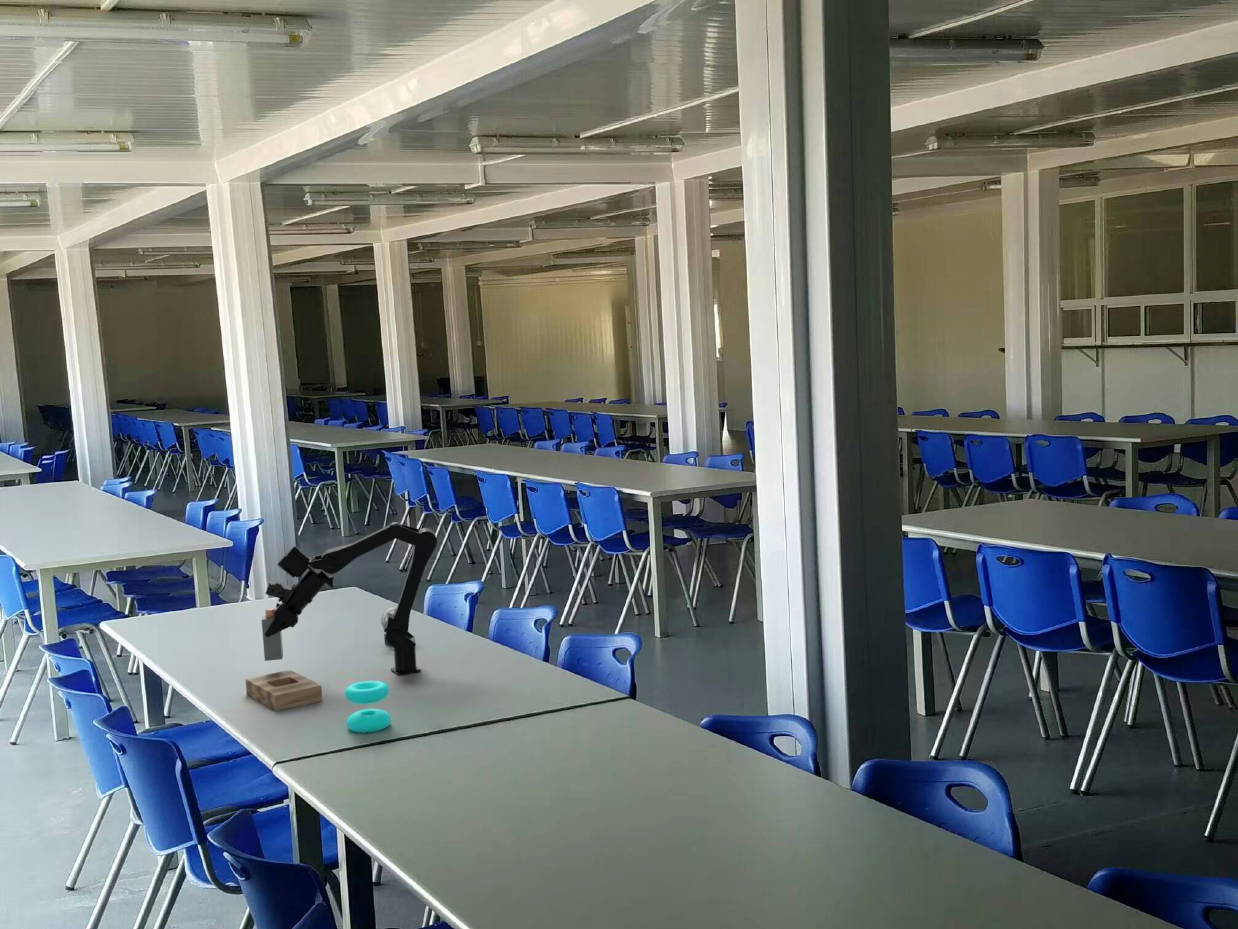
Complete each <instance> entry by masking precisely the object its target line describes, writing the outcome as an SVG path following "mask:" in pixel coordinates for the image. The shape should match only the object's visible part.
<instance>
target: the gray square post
mask: <svg viewBox="0 0 1238 929" xmlns="http://www.w3.org/2000/svg"><path fill="white" fill-rule="evenodd" d="M274 610H276V608H267V609H265V615H263V616H262V617H261V629H262V642H263V643H262V644H263V654H264V662H266V661H268V662H269V661H279V660H283V658H284V648H283V635H282V634H283V633H282V631H280V632H278V633H276V634H274V635H272V636H270V637H266V636H265V633H266V632H267V630H268V628H269V627H270V625H271V623H272V622H273V620H274V619H275V616H274Z"/></svg>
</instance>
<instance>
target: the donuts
mask: <svg viewBox="0 0 1238 929" xmlns="http://www.w3.org/2000/svg"><path fill="white" fill-rule="evenodd" d="M389 693H390V687H389V686H388V684H387V683H385V682H383V681H379V680H365V681H358V682H355V683H352V684H350V685H348V686H347V687H346V688H345V690H344V696H345V698H346V699H347V701H349V702H351V703H353V704H357V705H368V704H369V705H370V704H374V703H378V702H381V701H383V700H385V698H386V697H387V696H388V695H389ZM391 721H392V718H391V715H390V714H389V713H388V712H387V711H386V710H383V709H379V708H366V709H361V710H360V709H359V710H357V711H355V712H354V713H352V714H351V715H349V716H348V719H347V721H346V726H347V728H348V729H349V730H350V731H352V732H355V733H360V732H361V733H363V734H365V733H366V732H368V733H375V732H378V731H379V732H380V731H381V730H384V729H386V728H387V727H388V726H390V724H391ZM361 733H360V734H361ZM366 734H367V733H366Z"/></svg>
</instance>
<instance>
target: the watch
mask: <svg viewBox="0 0 1238 929" xmlns="http://www.w3.org/2000/svg"><path fill="white" fill-rule="evenodd" d="M396 608H397V607H394V606H393V607H389V608H387V609H385V610H384V611H383V613H382V615H381V618H380V621H381V626H382V628H383V629H384V625H385V623H386V621H387V616H388V613H390V614H391V612H392V611H393V613H394V612H395V610H396ZM383 636H384V638H383V639H384V645H386V646H389V647H391V648H394V647H393V646H392V645H390V644H389V643H388V642H387V640H386V636H385V633H384V634H383Z"/></svg>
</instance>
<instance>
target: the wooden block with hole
mask: <svg viewBox="0 0 1238 929" xmlns="http://www.w3.org/2000/svg"><path fill="white" fill-rule="evenodd" d="M322 689H323V688H322V684H319V683H317V682H316V681H313V680H312V679H310V678H307V676H304V675H301V674H300V673H297V672H296V671H294V670H292V669H287V670H283V671H282V670H281V671H278V672H273V673H269V674H262V675H258V676H253V677H248V678H245V690H246V691H245V692H246V695H247V696H249V697H251V698H253V699H254V700H256V701H257V702H259V703H260V704H262V705H265V706H266V707H268V708H270V709H271V710H273V711H276V712H278V711H283V710H287V709H291V708H296V707H297V708H298V707H301V706H304V705H305V706H306V705H310V704H314V703H319V702H323V692H322Z"/></svg>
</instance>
